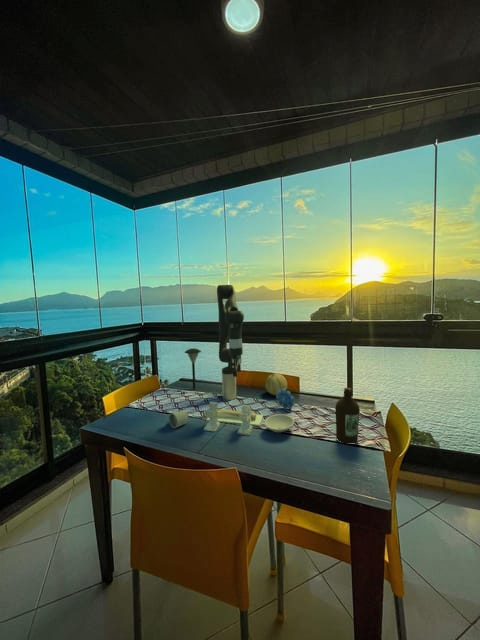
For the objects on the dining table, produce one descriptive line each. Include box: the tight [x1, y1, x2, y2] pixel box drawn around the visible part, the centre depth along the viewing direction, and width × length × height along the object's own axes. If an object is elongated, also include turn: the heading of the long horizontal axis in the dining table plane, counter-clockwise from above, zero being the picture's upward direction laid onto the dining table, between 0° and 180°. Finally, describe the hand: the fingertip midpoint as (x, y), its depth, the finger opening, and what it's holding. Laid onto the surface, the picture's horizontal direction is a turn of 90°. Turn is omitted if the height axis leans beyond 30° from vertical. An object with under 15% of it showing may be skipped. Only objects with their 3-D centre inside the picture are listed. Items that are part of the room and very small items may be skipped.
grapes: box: [275, 389, 295, 410], centre depth 168 cm, size 12×7×12 cm, turn 60°
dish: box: [263, 413, 295, 433], centre depth 143 cm, size 18×14×5 cm
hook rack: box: [203, 401, 254, 436], centre depth 146 cm, size 8×24×12 cm, turn 75°
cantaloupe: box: [265, 372, 288, 396], centre depth 193 cm, size 15×15×15 cm
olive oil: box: [334, 387, 361, 444], centre depth 132 cm, size 11×11×25 cm
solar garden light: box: [184, 347, 202, 391], centre depth 205 cm, size 12×12×30 cm
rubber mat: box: [205, 413, 264, 426], centre depth 158 cm, size 12×30×1 cm, turn 75°
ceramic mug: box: [168, 410, 189, 429], centre depth 152 cm, size 11×8×8 cm
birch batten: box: [218, 408, 257, 420], centre depth 158 cm, size 3×24×3 cm, turn 76°
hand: (236, 373), depth 161 cm, fingers open, 8 cm apart
